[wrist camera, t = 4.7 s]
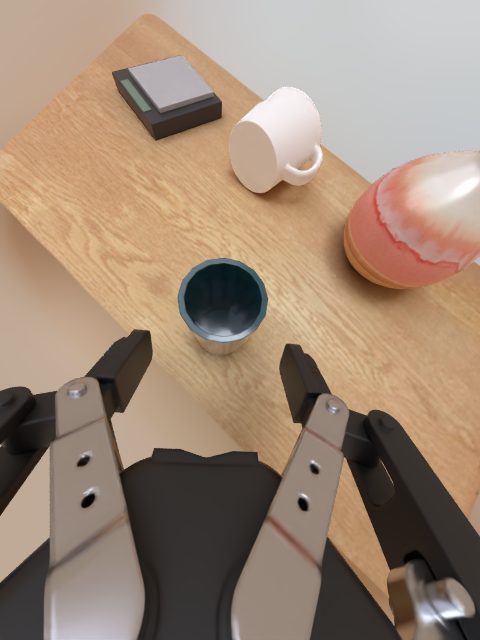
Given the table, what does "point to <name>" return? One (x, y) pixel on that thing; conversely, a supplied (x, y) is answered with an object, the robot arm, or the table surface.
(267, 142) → the mug
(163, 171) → the table surface
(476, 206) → the vase
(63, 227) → the table surface
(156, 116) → the scale
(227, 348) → the cup
